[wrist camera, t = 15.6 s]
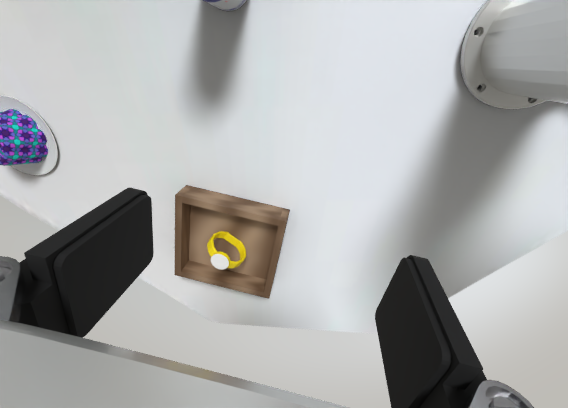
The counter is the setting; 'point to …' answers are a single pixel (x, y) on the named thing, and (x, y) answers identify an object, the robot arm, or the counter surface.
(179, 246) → the box
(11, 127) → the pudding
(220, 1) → the energy drink
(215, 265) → the watch
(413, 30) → the counter surface
